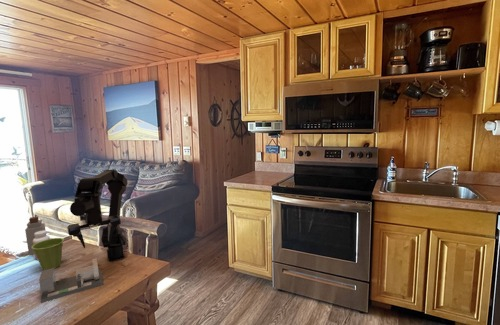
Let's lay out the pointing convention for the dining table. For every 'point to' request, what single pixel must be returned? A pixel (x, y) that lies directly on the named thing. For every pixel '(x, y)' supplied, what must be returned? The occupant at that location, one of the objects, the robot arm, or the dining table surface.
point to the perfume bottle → (32, 228)
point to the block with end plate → (88, 272)
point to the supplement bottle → (39, 239)
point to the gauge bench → (63, 285)
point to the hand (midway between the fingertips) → (97, 244)
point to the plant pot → (49, 252)
